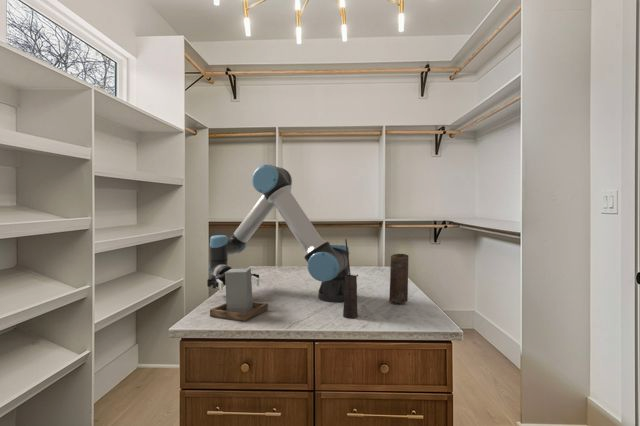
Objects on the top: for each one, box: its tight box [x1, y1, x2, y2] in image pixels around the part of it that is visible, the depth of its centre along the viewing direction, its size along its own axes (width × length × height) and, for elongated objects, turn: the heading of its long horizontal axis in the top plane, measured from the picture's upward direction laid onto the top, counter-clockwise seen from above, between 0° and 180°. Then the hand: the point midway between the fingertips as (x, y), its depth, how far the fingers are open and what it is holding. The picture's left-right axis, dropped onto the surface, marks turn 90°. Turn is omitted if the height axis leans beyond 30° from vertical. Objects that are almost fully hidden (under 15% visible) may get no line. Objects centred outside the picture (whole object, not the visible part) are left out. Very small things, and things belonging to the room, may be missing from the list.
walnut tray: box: [209, 301, 269, 323], centre depth 130 cm, size 15×15×2 cm
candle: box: [388, 253, 410, 305], centre depth 143 cm, size 8×7×20 cm
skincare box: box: [225, 267, 254, 313], centre depth 130 cm, size 8×7×16 cm
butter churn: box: [342, 238, 359, 319], centre depth 126 cm, size 9×10×28 cm
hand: (240, 284), depth 128 cm, fingers open, 13 cm apart
